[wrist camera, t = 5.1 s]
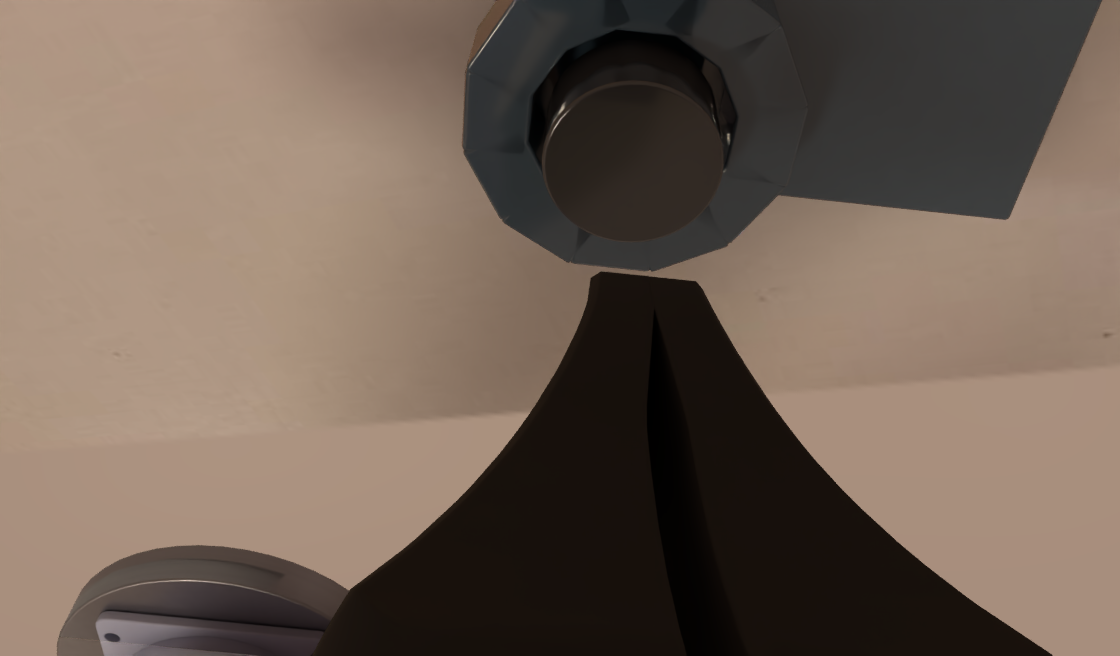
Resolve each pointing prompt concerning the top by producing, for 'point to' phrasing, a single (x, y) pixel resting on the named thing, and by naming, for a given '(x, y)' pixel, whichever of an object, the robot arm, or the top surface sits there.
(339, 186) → the top surface
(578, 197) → the dark brown short cylinder
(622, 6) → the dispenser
